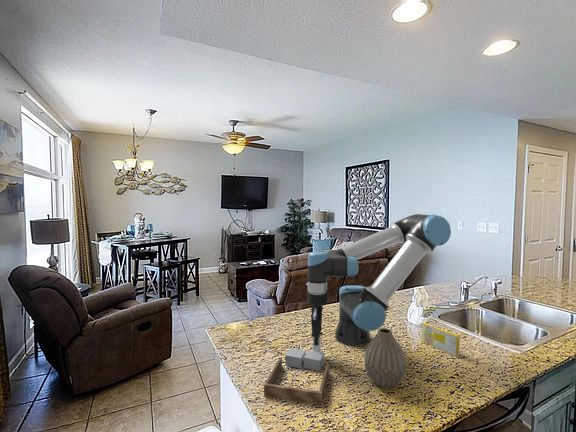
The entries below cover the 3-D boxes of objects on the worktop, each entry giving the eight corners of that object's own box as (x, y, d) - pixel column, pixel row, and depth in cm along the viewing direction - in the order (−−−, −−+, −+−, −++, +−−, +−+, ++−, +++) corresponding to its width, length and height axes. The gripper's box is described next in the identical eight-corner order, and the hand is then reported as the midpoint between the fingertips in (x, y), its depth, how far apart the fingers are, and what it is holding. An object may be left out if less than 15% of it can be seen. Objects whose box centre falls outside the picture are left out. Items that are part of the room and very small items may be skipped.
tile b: (305, 360, 117) (305, 350, 117) (300, 368, 111) (300, 357, 111) (290, 358, 119) (290, 348, 119) (285, 366, 114) (285, 355, 113)
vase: (400, 399, 94) (401, 342, 93) (358, 386, 100) (359, 333, 100) (409, 378, 105) (409, 327, 104) (371, 368, 112) (371, 320, 111)
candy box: (459, 356, 120) (460, 335, 120) (456, 357, 119) (456, 336, 119) (424, 340, 134) (424, 321, 134) (420, 341, 133) (421, 322, 133)
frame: (328, 373, 108) (328, 363, 108) (321, 405, 91) (321, 393, 91) (279, 366, 113) (279, 357, 112) (264, 396, 95) (263, 384, 95)
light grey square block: (324, 363, 115) (324, 353, 115) (319, 371, 110) (319, 360, 109) (309, 360, 117) (309, 350, 117) (303, 368, 112) (303, 357, 112)
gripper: (310, 287, 127) (310, 343, 128) (304, 296, 114) (303, 358, 115) (329, 288, 125) (328, 345, 126) (324, 297, 112) (323, 361, 113)
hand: (316, 352), depth 121 cm, fingers closed
